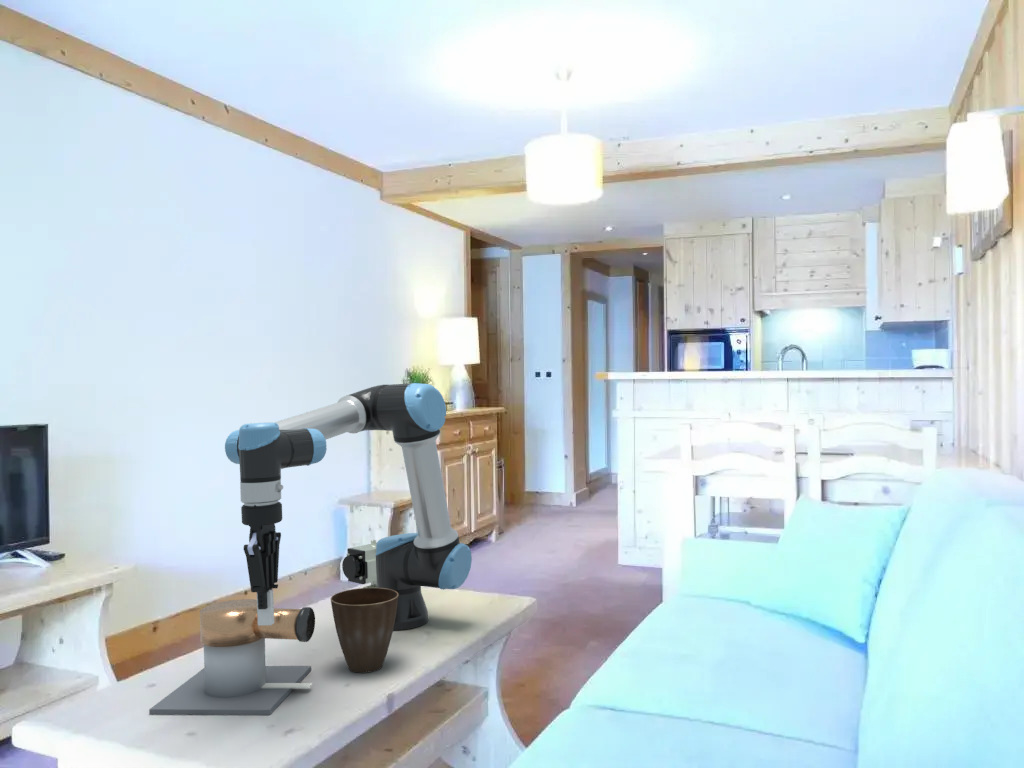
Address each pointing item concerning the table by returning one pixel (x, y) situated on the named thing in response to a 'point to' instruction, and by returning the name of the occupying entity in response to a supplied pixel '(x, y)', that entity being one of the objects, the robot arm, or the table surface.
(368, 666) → the plant pot
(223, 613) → the copper flat bottle shape
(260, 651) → the duct stub
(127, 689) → the table surface
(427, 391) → the robot arm
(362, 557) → the ball valve
